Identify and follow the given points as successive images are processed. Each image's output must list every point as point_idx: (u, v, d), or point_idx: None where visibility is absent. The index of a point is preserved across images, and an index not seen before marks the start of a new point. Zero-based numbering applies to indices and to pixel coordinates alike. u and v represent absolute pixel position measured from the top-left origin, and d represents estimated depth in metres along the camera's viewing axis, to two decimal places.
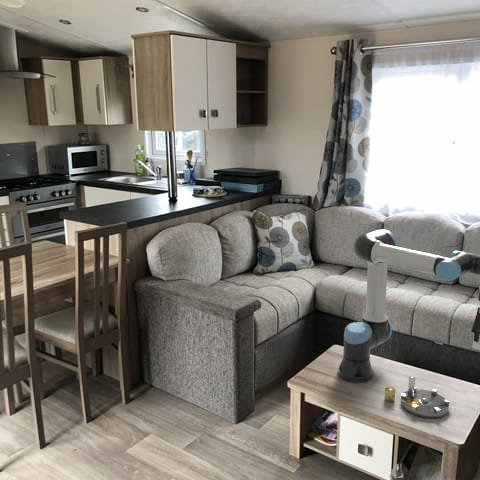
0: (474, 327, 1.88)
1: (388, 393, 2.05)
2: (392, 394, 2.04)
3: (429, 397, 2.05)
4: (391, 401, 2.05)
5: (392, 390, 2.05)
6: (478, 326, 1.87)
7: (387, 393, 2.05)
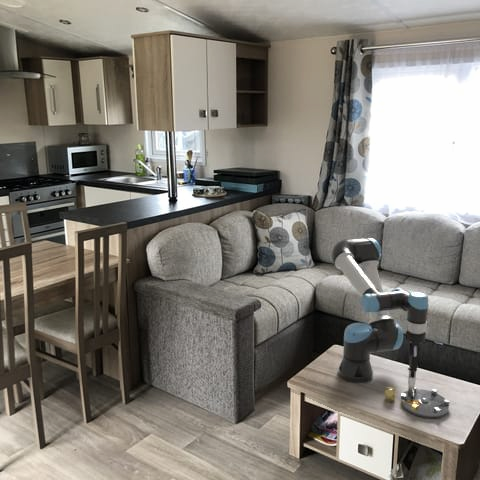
0: None
1: (388, 393, 2.05)
2: (392, 394, 2.04)
3: (429, 397, 2.05)
4: (391, 401, 2.05)
5: (392, 390, 2.05)
6: None
7: (387, 393, 2.05)
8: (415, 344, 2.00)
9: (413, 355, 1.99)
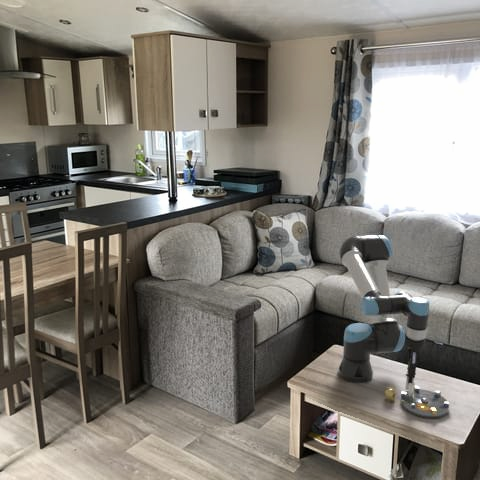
0: None
1: (388, 393, 2.05)
2: (392, 394, 2.04)
3: (421, 395, 2.06)
4: (391, 401, 2.05)
5: (392, 390, 2.05)
6: None
7: (387, 393, 2.05)
8: (414, 351, 1.96)
9: (412, 362, 1.95)
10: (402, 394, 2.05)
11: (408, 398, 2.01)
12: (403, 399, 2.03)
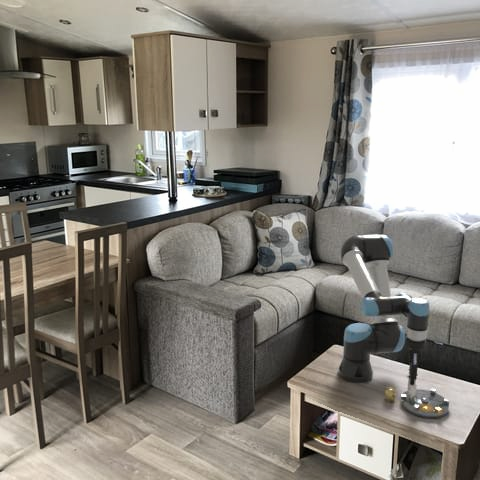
0: None
1: (388, 393, 2.05)
2: (392, 394, 2.04)
3: (418, 396, 2.06)
4: (391, 401, 2.05)
5: (392, 390, 2.05)
6: None
7: (387, 393, 2.05)
8: (415, 351, 1.95)
9: (413, 363, 1.94)
10: (402, 397, 2.03)
11: (410, 400, 1.99)
12: (404, 402, 2.01)
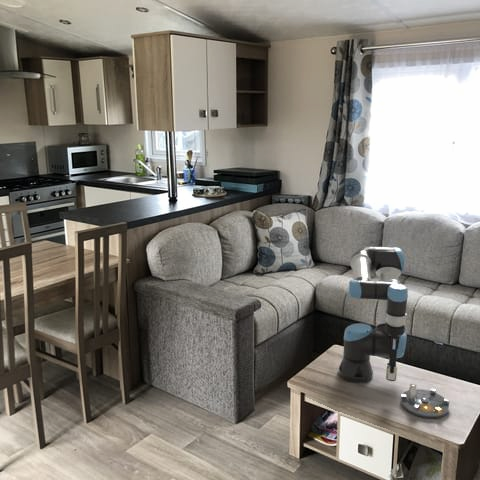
0: None
1: None
2: None
3: (418, 396, 2.06)
4: (393, 380, 2.03)
5: None
6: None
7: None
8: (394, 336, 1.97)
9: (392, 347, 1.95)
10: (402, 397, 2.03)
11: (410, 400, 1.99)
12: (404, 402, 2.01)
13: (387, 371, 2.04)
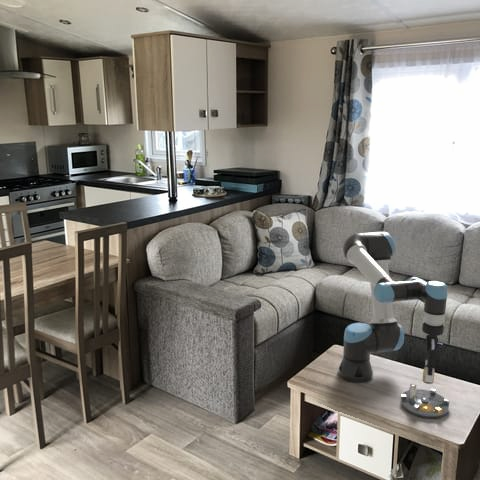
0: None
1: None
2: None
3: (418, 396, 2.06)
4: (430, 382, 1.93)
5: None
6: None
7: None
8: (433, 336, 1.87)
9: (431, 347, 1.85)
10: (402, 397, 2.03)
11: (410, 400, 1.99)
12: (404, 402, 2.01)
13: (424, 373, 1.93)
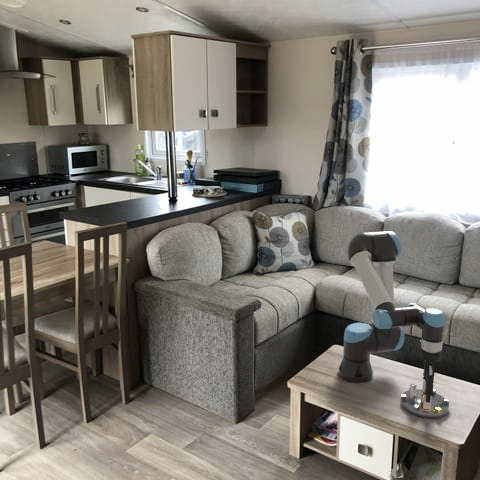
0: None
1: None
2: None
3: (418, 396, 2.06)
4: None
5: None
6: None
7: (423, 400, 1.95)
8: None
9: (429, 372, 1.87)
10: (402, 397, 2.03)
11: (410, 400, 1.99)
12: (404, 402, 2.01)
13: (422, 399, 1.96)
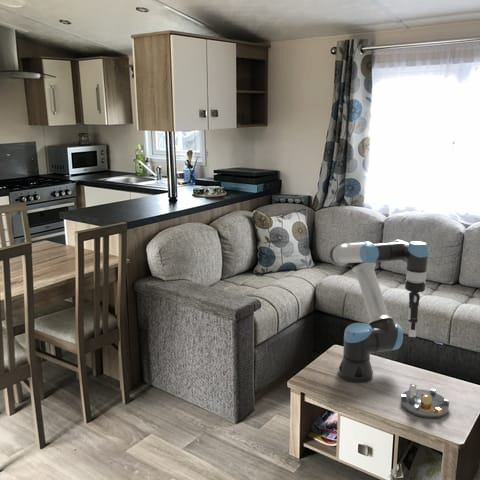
0: None
1: (425, 400, 1.95)
2: (429, 401, 1.95)
3: (418, 396, 2.06)
4: (427, 408, 1.96)
5: (428, 397, 1.96)
6: None
7: (423, 400, 1.95)
8: None
9: (413, 299, 1.96)
10: (402, 397, 2.03)
11: (410, 400, 1.99)
12: (404, 402, 2.01)
13: (422, 399, 1.96)
